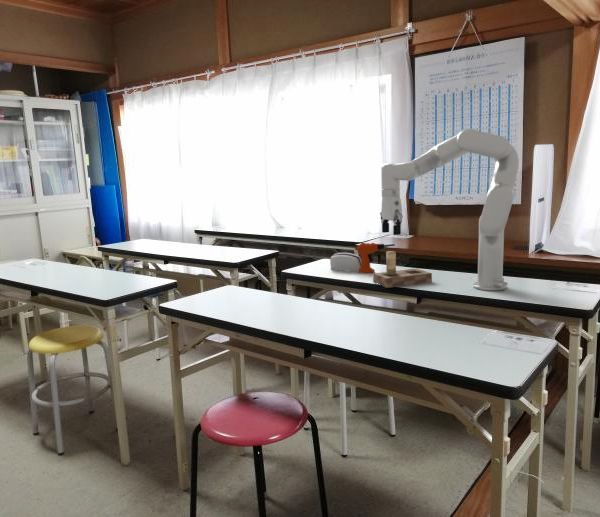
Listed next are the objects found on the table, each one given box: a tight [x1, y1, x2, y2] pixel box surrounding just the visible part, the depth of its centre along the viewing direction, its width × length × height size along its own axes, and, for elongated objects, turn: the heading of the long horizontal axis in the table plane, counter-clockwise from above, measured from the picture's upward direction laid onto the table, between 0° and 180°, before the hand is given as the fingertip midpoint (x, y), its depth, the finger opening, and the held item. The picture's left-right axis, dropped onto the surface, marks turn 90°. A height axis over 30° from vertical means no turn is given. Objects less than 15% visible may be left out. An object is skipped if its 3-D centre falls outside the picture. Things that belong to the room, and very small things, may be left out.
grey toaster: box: [329, 252, 362, 272], centre depth 258 cm, size 17×5×10 cm, turn 60°
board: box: [372, 268, 433, 289], centre depth 228 cm, size 12×22×4 cm, turn 110°
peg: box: [385, 250, 397, 276], centre depth 225 cm, size 4×4×14 cm
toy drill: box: [356, 242, 396, 274], centre depth 249 cm, size 5×19×15 cm, turn 77°
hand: (391, 233), depth 222 cm, fingers open, 9 cm apart
